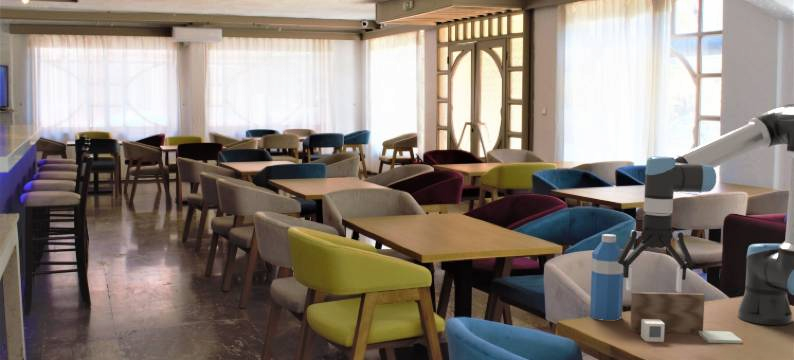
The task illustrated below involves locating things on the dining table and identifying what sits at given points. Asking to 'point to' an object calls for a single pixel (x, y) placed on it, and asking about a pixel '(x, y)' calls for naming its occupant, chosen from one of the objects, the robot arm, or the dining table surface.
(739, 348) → the dining table surface
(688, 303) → the walnut screen
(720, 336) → the coaster
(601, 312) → the water bottle
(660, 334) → the white cube
